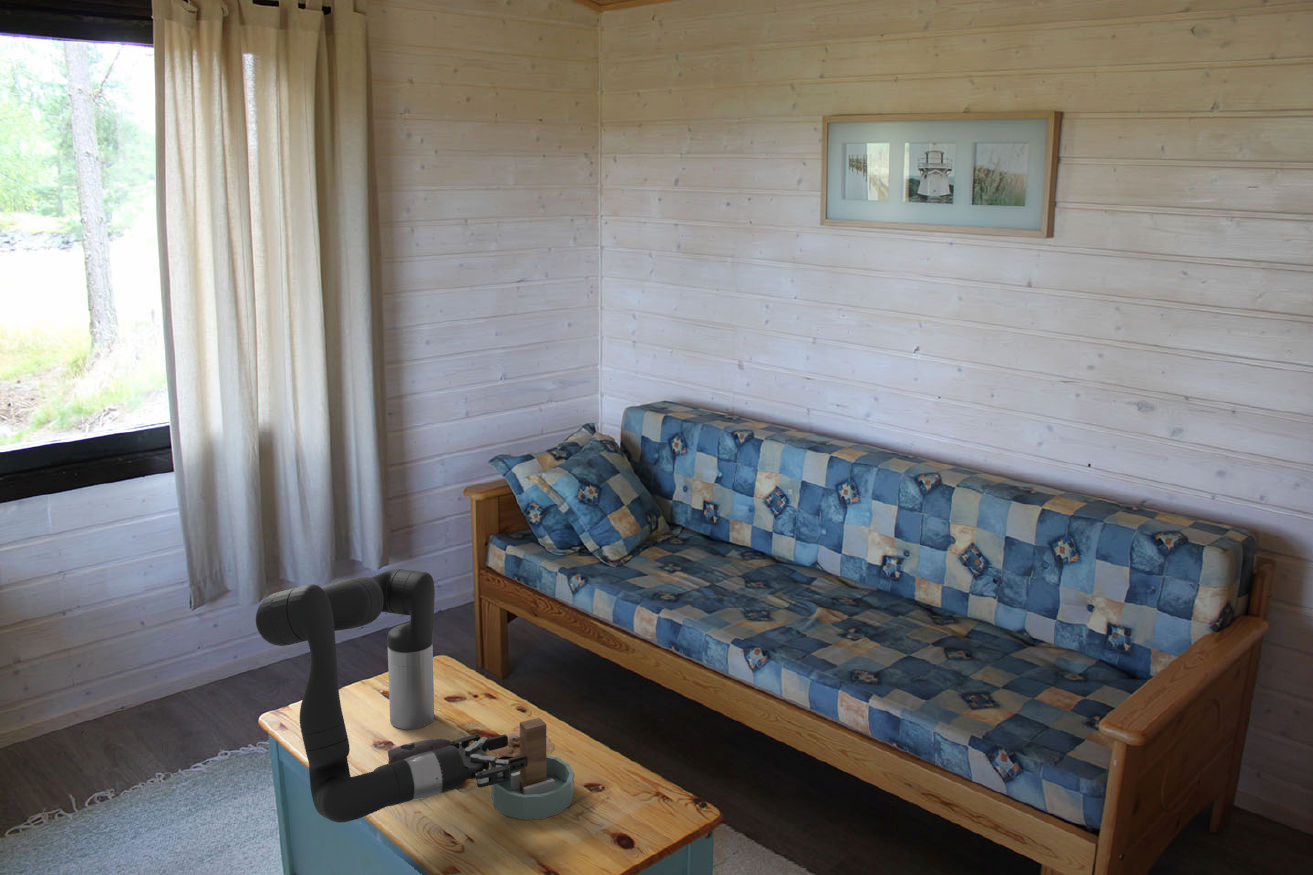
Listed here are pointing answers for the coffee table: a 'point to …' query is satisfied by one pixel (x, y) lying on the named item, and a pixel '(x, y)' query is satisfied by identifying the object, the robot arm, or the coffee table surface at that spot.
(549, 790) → the slotted round holder
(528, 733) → the tall wooden post
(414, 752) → the perforated stone tool
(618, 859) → the coffee table surface
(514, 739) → the clay slab
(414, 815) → the coffee table surface
